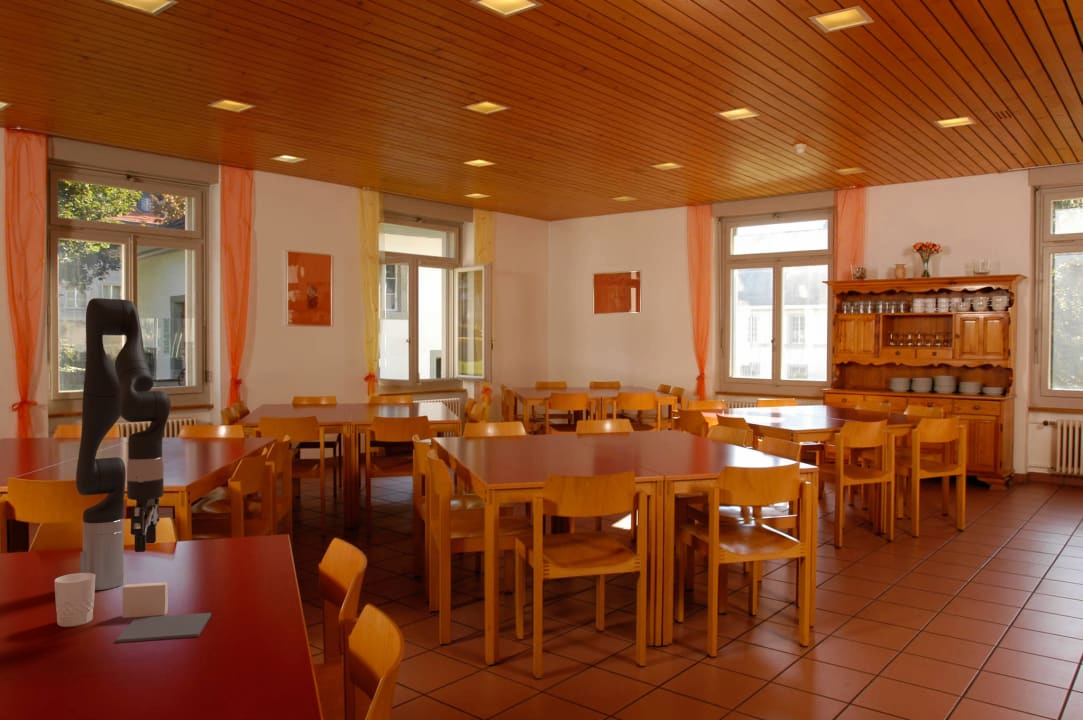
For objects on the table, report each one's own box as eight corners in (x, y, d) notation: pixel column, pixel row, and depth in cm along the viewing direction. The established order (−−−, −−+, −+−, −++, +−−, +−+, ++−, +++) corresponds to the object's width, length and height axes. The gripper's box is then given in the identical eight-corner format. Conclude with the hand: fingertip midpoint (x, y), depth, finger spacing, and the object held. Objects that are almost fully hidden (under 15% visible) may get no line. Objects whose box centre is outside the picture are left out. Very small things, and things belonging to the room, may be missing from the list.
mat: (116, 642, 160) (116, 639, 160) (135, 620, 174) (135, 617, 174) (198, 636, 164) (198, 633, 164) (211, 615, 177) (211, 612, 177)
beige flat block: (122, 617, 176) (122, 587, 176) (125, 614, 178) (125, 584, 178) (165, 615, 178) (165, 584, 178) (167, 611, 180) (167, 581, 180)
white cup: (103, 618, 175) (103, 574, 175) (72, 629, 168) (72, 584, 168) (77, 614, 178) (77, 571, 178) (45, 625, 170) (46, 580, 170)
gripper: (136, 473, 184) (136, 541, 184) (118, 482, 170) (118, 555, 170) (170, 472, 186) (170, 539, 186) (154, 481, 172) (154, 553, 172)
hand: (145, 547), depth 178 cm, fingers open, 8 cm apart
